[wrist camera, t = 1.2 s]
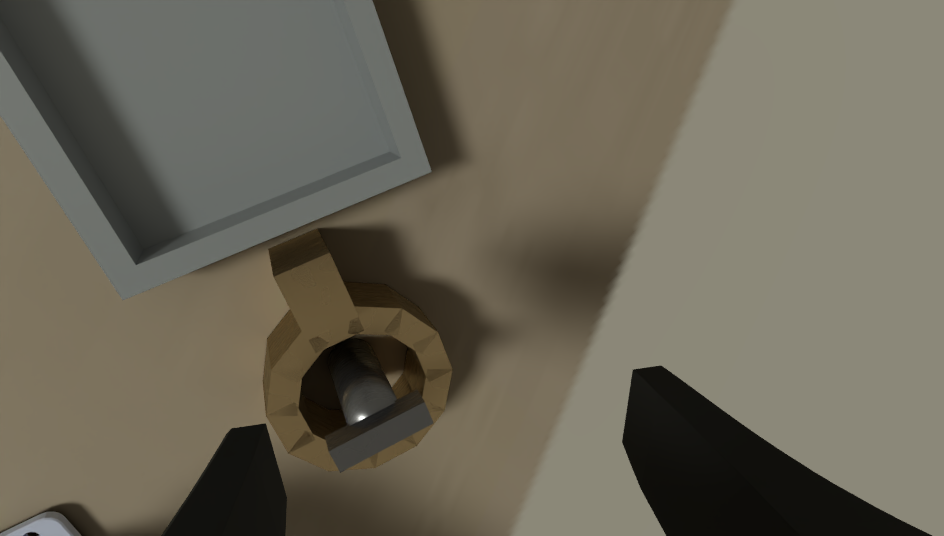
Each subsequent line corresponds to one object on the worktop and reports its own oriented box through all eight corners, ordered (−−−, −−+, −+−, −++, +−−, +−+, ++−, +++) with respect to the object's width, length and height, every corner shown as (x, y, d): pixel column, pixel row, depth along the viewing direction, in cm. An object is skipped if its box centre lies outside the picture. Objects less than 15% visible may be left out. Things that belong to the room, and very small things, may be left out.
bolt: (322, 396, 22) (345, 482, 18) (303, 360, 22) (322, 440, 17) (396, 359, 23) (438, 433, 18) (381, 323, 22) (419, 391, 18)
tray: (134, 276, 18) (122, 300, 17) (-124, -130, 14) (-184, -161, 12) (413, 161, 21) (431, 171, 19) (276, -220, 16) (282, -260, 14)
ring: (307, 458, 23) (317, 509, 20) (202, 276, 19) (197, 309, 17) (450, 385, 24) (476, 423, 22) (376, 203, 21) (398, 223, 18)
